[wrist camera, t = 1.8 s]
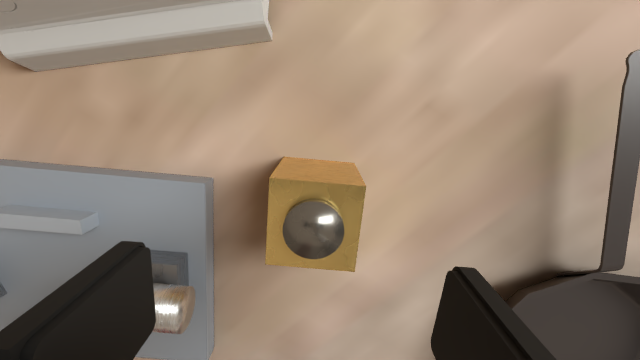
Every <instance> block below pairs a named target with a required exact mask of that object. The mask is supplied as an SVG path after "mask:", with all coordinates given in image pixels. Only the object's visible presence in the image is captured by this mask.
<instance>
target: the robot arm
mask: <svg viewBox="0 0 640 360" xmlns="http://www.w3.org/2000/svg"><path fill="white" fill-rule="evenodd" d="M155 323H156V313H155V300H154V288H153V276H152V263H151V252H150V249H149V248H148V247H146V246H145V244H144V243H143V242H133V241H121V242H119V243H118V244H116V245H115V246H114V247H112V248H111V249H110V250H108V251H107V252H106V253H104V254H103V255H102V256H100V257H99V258H98V259H96V260H95V261H94V262H92V263H91V264H89V265H88V266H87V267H85V268H84V269H83V270H81V271H80V272H79V273H77V274H76V275H75V276H73V277H72V278H71V279H69V280H68V281H67V282H65V283H64V284H63V285H61V286H60V287H59V288H57V289H56V290H55V291H53V292H52V293H51V294H49V295H48V296H47V297H45V298H44V299H43V300H41V301H40V302H39V303H37V304H36V305H35V306H33V307H32V308H30V309H29V310H28V311H26V312H25V313H24V314H22V315H21V316H20V317H18V318H17V319H16V320H14V321H13V322H12V323H10V324H9V325H8V326H6V327H5V328H4V329H2V330H1V331H0V360H133V359H134V357H135V356H136V355H137V353H138V352H139V350H140V349H141V347H142V346H143V345H144V343H145V342H146V340H147V339H148V337H149V336H150V334H151V333H152V331H153V329H154V327H155ZM431 347H432V351H433V354H434V356H435V358H436V360H557V359H556V358H555V357H554V356H553V355H552V354H551V353H550V352H549V351H548V349H547V348H546V347H545V346H544V345H543V344H542V343H541V342H540V340H539V339H538V338H537V337H536V336H535V335H534V334H533V333H532V331H531V330H530V329H529V328H528V327H527V326H526V325H525V324H524V322H523V321H522V320H521V319H520V318H519V317H518V316H517V315H516V313H515V312H514V311H513V310H512V309H511V308H510V307H509V306H508V304H507V303H506V302H505V301H504V300H503V299H502V298H501V297H500V295H499V294H498V293H497V292H496V291H495V290H494V289H493V288H492V286H491V285H490V284H489V283H488V282H487V281H486V280H485V279H484V277H483V276H482V275H481V274H480V273H479V272H478V271H477V270H476V269H475V268H468V267H454V268H453V269H452V271H448V273H447V275H446V279H445V283H444V287H443V292H442V296H441V300H440V304H439V308H438V312H437V316H436V321H435V325H434V329H433V333H432V337H431Z"/></svg>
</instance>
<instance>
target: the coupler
mask: <svg viewBox="0 0 640 360" xmlns="http://www.w3.org/2000/svg"><path fill="white" fill-rule="evenodd" d="M365 190H366V185H365V183H364V181H363V179H362V177H361V175H360V173H359V171H358V169H357V167H356V166H355V164H354V163H348V162H337V161H326V160H315V159H303V158H292V157H284V158H283V159H282V160H281V162H280V163H279V165H278V166H277V168H276V169H275V170H274V172H273V173H272V175H271V176H270V177H269V195H268V217H267V239H266V260H265V264H268V265H280V266H291V267H303V268H315V269H327V270H339V271H351V272H355V265H356V258H357V250H358V243H359V235H360V228H361V220H362V213H363V205H364V198H365Z"/></svg>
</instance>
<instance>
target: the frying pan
mask: <svg viewBox="0 0 640 360" xmlns="http://www.w3.org/2000/svg"><path fill="white" fill-rule="evenodd" d="M626 66H627V71H626V76H625V79H624V83H623V86H622V93H621V101H620V110H619V118H618V126H617V134H616V142H615V150H614V158H613V166H612V174H611V182H610V191H609V199H608V207H607V215H606V223H605V231H604V239H603V247H602V255H601V263H600V266H599V269H597V270H587V271H575V272H566V273H557V275H563V276H560V277H557V278H554V279H551V280H548V281H545V282H542V283H539V284H536V285H533V286H530V287H527V288H524V289H521V290H518V291H517V292H516V293H515V294H514V295H513V296H511V297H510V298H509V299H508V300H507V301H506V303H507V304H508V306H509V307H510V308H511V309H512V310H513V311H514V312H515V313H516V315H517V316H518V317H519V318H520V319H521V320H522V321H523V322H524V324H525V325H526V326H527V327H528V328H529V329H530V330H531V331H532V333H533V334H534V335H535V336H536V337H537V338H538V339H539V340H540V342H541V343H542V344H543V345H544V346H545V347H546V348H547V349H548V351H549V352H550V353H551V354H552V355H553V356H554V357H555V358H556V359H557V360H640V277H632V276H624V275H616V274H608V273H600V272H607V271H616V270H620V269H622V268H623V266H624V262H625V255H626V248H627V241H628V235H629V228H630V221H631V214H632V207H633V200H634V194H635V187H636V180H637V173H638V166H639V160H640V50H636V51H634V52H631V53H630V54H629V55H628V57H627V58H626Z"/></svg>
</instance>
